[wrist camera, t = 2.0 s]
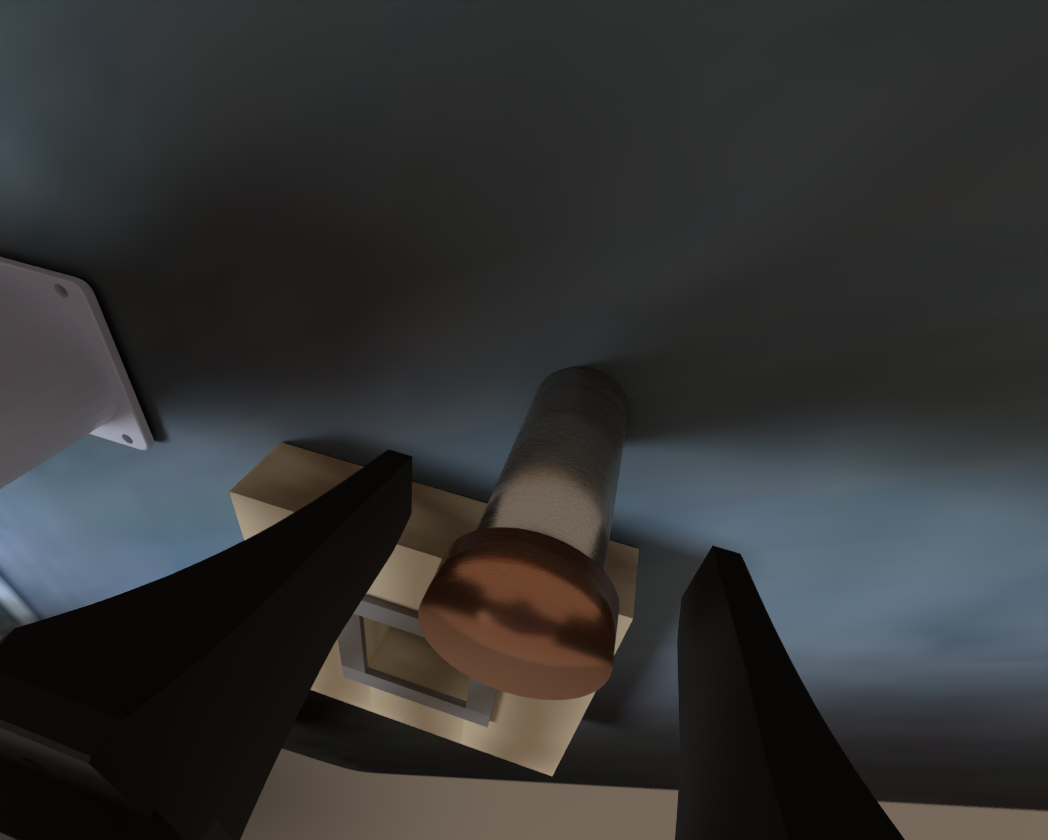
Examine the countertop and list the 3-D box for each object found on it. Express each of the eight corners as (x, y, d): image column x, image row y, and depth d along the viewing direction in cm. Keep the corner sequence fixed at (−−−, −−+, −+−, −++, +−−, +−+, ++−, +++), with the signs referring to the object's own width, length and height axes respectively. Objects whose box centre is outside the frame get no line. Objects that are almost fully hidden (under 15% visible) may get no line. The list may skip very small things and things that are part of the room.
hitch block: (319, 632, 30) (284, 687, 27) (281, 442, 20) (223, 497, 18) (562, 715, 28) (550, 782, 25) (639, 549, 19) (632, 626, 16)
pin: (515, 438, 17) (416, 661, 11) (532, 342, 15) (419, 553, 8) (622, 468, 17) (586, 720, 10) (657, 374, 14) (638, 622, 8)
